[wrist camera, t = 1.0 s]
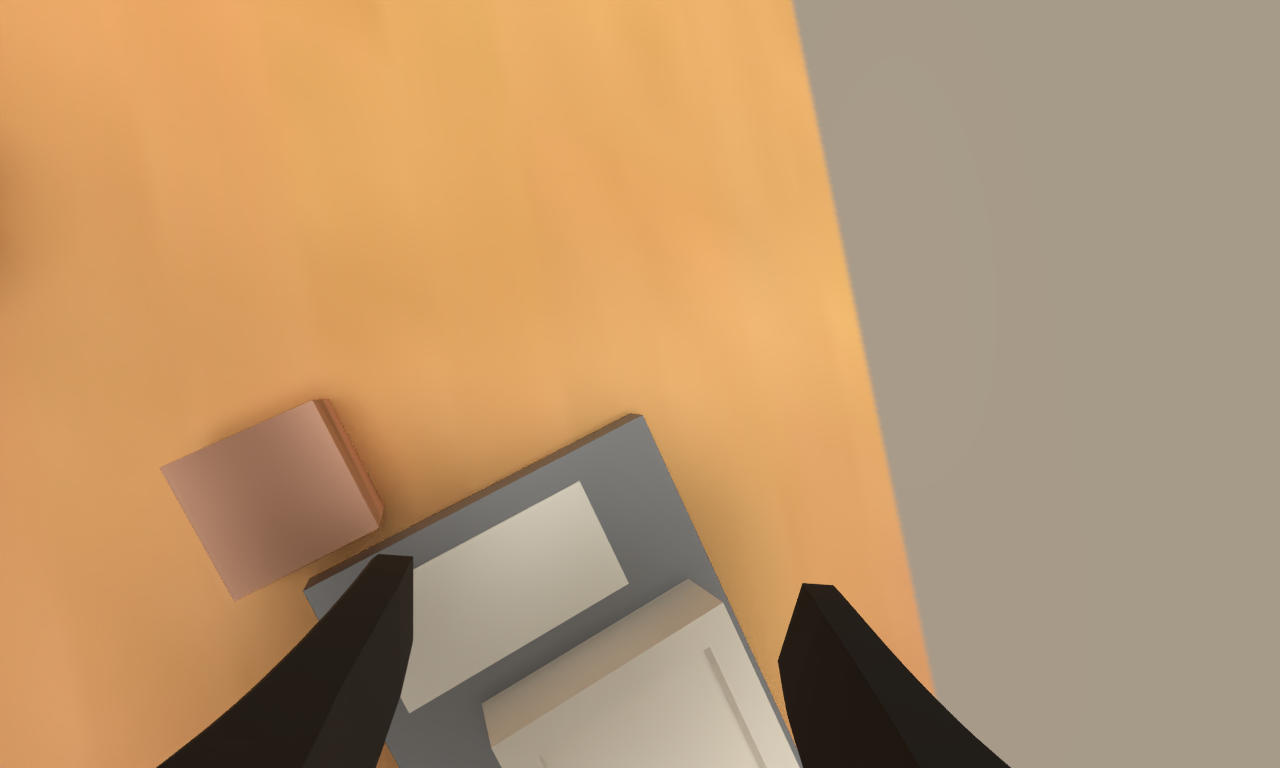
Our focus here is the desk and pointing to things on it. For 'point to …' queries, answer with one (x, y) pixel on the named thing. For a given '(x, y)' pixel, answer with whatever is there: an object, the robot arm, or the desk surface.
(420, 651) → the grey mounting plate
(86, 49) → the desk surface
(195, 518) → the terracotta cube
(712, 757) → the socket base
